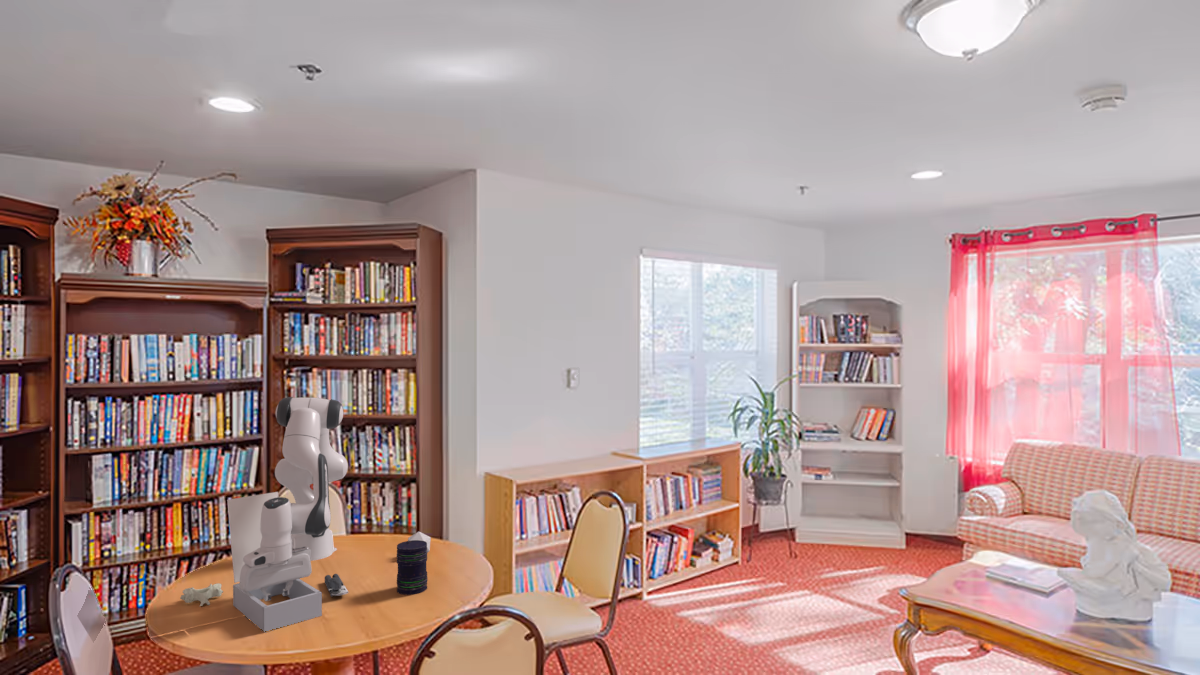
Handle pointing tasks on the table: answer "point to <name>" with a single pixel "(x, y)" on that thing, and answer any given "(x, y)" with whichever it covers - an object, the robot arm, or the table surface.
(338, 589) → the can opener
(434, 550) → the table surface
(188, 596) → the spine bone
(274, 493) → the lid
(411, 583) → the dark blue barrel
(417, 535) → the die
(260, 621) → the duct
